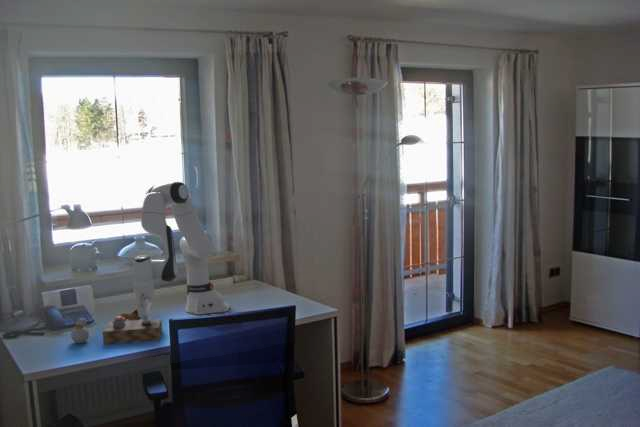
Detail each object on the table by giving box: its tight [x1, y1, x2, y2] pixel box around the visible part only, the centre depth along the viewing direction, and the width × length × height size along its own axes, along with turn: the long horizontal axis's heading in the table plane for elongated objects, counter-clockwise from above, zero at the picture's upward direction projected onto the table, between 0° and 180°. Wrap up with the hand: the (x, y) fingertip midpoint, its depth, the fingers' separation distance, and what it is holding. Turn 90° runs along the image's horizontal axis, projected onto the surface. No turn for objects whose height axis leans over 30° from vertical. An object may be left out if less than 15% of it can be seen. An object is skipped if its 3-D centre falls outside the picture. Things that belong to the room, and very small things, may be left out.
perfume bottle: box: [70, 316, 90, 344], centre depth 294 cm, size 8×10×12 cm
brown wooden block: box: [102, 318, 163, 346], centre depth 299 cm, size 24×14×6 cm, turn 98°
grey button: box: [141, 319, 152, 326], centre depth 300 cm, size 4×4×6 cm
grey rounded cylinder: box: [112, 315, 125, 328], centre depth 298 cm, size 4×4×6 cm
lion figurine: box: [119, 308, 143, 321], centre depth 317 cm, size 15×5×9 cm, turn 117°
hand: (145, 321), depth 300 cm, fingers closed
